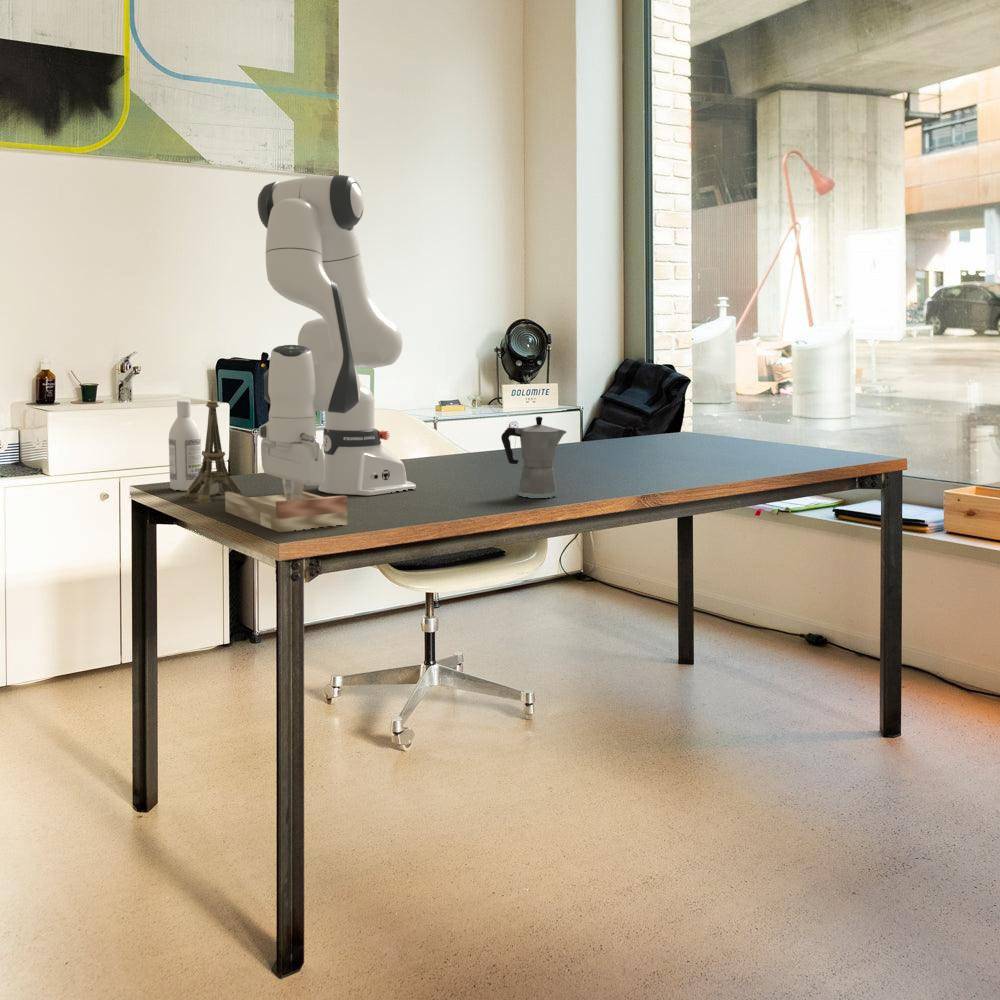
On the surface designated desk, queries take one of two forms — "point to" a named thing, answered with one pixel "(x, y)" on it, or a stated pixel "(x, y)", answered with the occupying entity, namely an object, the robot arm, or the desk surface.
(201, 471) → the eiffel tower
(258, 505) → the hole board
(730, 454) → the desk surface
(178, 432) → the bath foam
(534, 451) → the coffeepot
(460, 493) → the desk surface
